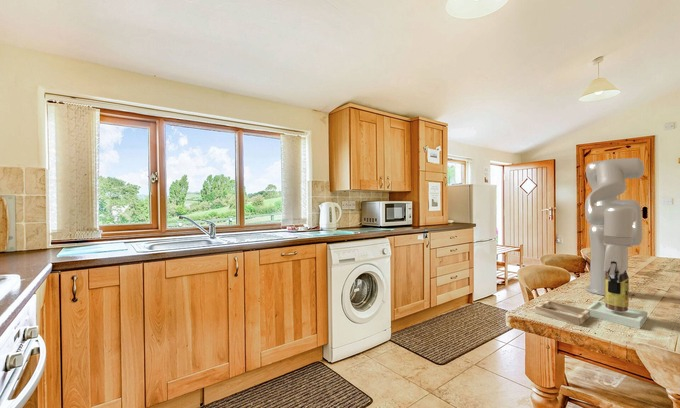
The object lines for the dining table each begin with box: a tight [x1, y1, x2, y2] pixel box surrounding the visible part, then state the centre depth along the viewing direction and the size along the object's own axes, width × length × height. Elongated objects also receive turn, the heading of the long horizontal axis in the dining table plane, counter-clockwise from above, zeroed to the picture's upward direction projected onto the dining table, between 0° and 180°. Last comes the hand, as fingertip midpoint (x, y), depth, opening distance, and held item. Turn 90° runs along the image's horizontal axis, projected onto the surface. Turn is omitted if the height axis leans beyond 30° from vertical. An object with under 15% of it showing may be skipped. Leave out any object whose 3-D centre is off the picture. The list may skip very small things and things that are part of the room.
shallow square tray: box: [584, 300, 648, 330], centre depth 106 cm, size 14×14×2 cm
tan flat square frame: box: [534, 299, 590, 327], centre depth 107 cm, size 12×13×2 cm
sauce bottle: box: [604, 269, 630, 312], centre depth 105 cm, size 6×6×20 cm
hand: (616, 290), depth 106 cm, fingers closed on sauce bottle, 6 cm apart
